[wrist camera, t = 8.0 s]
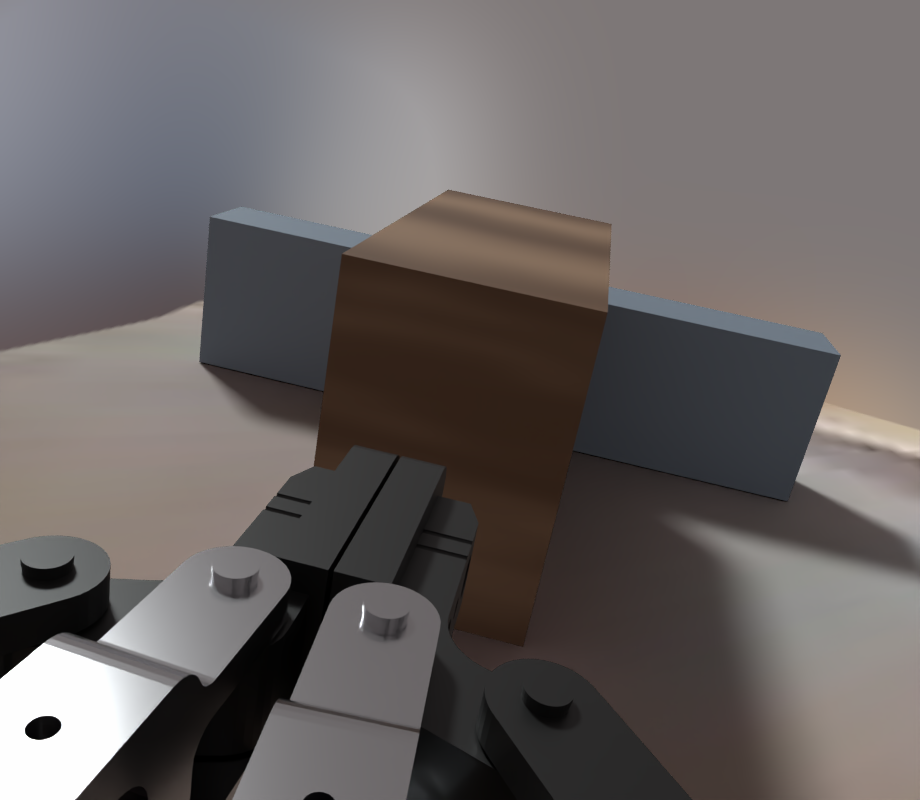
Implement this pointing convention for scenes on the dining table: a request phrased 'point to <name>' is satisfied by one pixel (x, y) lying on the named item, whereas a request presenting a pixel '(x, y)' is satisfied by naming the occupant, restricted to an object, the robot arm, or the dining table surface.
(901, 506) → the dining table surface
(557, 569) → the dining table surface
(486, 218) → the walnut block
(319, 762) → the robot arm
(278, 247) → the grey board
